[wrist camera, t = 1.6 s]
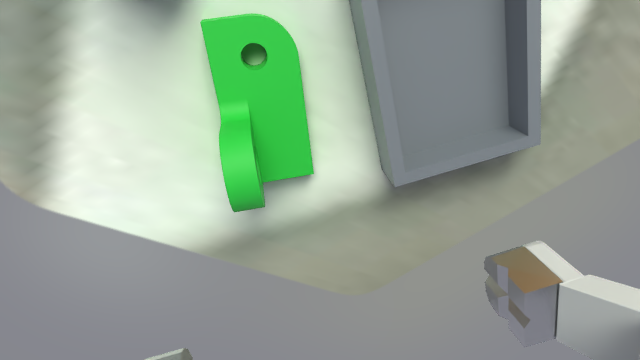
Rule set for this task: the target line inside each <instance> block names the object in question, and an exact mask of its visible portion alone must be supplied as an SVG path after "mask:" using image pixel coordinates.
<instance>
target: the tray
mask: <svg viewBox="0 0 640 360" xmlns="http://www.w3.org/2000/svg"><path fill="white" fill-rule="evenodd" d="M349 2H350V7H351V12H352V17H353V23H354V28H355V33H356V38H357V43H358V48H359V54H360V59H361V64H362V69H363V74H364V79H365V85H366V90H367V95H368V100H369V105H370V110H371V116H372V121H373V126H374V131H375V136H376V141H377V147H378V152H379V157H380V162H381V167H382V170H383V171H384V173H385V174H386V176H387V177H388V178H389V180H390V181H391V183H392V184H393V185H394V187H398V186H401V185H405V184H408V183H411V182H415V181H418V180H422V179H425V178H428V177H432V176H435V175H438V174H442V173H445V172H449V171H452V170H455V169H459V168H462V167H465V166H469V165H472V164H476V163H479V162H482V161H486V160H489V159H492V158H496V157H499V156H503V155H506V154H509V153H513V152H516V151H519V150H523V149H526V148H530V147H533V146H536V145H540V139H541V0H349Z"/></svg>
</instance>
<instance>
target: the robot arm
mask: <svg viewBox="0 0 640 360" xmlns="http://www.w3.org/2000/svg"><path fill="white" fill-rule="evenodd" d="M484 269H485V270H486V271H487V273H488V274H489V277H488V278H487V280H486V282H485V286H486V293H487V296H488V299H489V302H490V303H491V305H492V307H493V309H494V310H495V311H496V313H497V314H498V315H499V316H501V317H503V318H505V319H508V320H509V329H510V330H511V332H512V333H513V334H514V335H515V336H516V338H517V339H518V340H519V341H520V343H521V344H522V345H523V346H524V347H528V346H531V345H535V344H538V343H542V342H545V341H549V340H552V339H556V340H557V341H559V342H561V343H563V344H564V345H566V346H568V347H570V348H572V349H574V350H576V351H578V352H580V353H581V354H584V355H585V356H587V357H589V358H591V359H593V360H640V289H636V288H633V287H630V286H626V285H623V284H620V283H617V282H613V281H610V280H606V279H603V278H600V277H596V276H593V275H587V276H583V275H582V274H581V273H580V272H579V271H578V270H576V269H575V268H574V267H573V266H571V265H570V264H569V263H568V262H567V261H565V260H564V259H563V258H562V257H561V256H559V255H558V254H557V253H556V252H554V251H553V250H552V249H551V248H550V247H548V246H547V245H546V244H545V243H544V242H542V241H535V242H532V243H529V244H525V245H522V246H520V247H516V248H514V249H510V250H507V251H504V252H500V253H497V254H494V255H491V256H488V257H486V258H485V261H484ZM192 359H193V358H192V356H191V354H190V352H189V350H188V349H186V348H183V349H180V350H176V351H172V352H169V353H166V354H161V355H158V356H154V357H151V358H147V359H145V360H192Z"/></svg>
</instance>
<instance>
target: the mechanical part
mask: <svg viewBox="0 0 640 360" xmlns="http://www.w3.org/2000/svg"><path fill="white" fill-rule="evenodd" d="M201 27H202V31H203V36H204V40H205V45H206V49H207V54H208V58H209V63H210V67H211V72H212V76H213V81H214V85H215V90H216V94H217V99H218V103H219V108H220V115H221V127H220V133H219V146H220V156H221V164H222V170H223V176H224V181H225V186H226V190H227V194H228V198H229V201H230V204H231V207H232V209H233V211H234V212H239V211H244V210H250V209H256V208H262V207H265V201H264V189H263V182H269V181H275V180H281V179H286V178H292V177H298V176H304V175H310V174H314V172H313V164H312V157H311V149H310V141H309V133H308V125H307V118H306V110H305V102H304V94H303V87H302V79H301V71H300V63H299V56H298V51H297V47H296V45H295V43H294V41H293V39H292V37H291V36H290V34H289V33H288V32H287V31H286V29H285V28H284V27H283V26H282V25H281V24H279V23H278V22H277V21H275V20H274V19H272V18H270V17H267V16H265V15H261V14H243V15H235V16H228V17H220V18H212V19H204V20H202V21H201ZM250 43H257V44H260V45H261V46H263V47H264V48H265V50H266V58H265V60H264V61H263V62H262V63H261V64H259V65H255V66H253V65H249V64H247V63H246V62H245V61H244V60H243V58H242V56H241V51H242V49H243V48H244V47H245V46H246V45H247V44H250Z"/></svg>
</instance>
